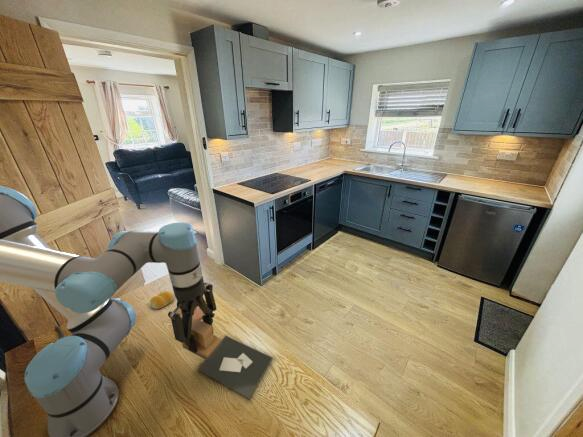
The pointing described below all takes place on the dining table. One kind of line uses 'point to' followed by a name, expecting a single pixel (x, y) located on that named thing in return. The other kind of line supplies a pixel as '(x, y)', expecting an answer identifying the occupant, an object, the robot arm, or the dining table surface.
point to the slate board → (236, 366)
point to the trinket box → (197, 314)
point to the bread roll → (161, 300)
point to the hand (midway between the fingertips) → (201, 340)
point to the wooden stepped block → (204, 339)
